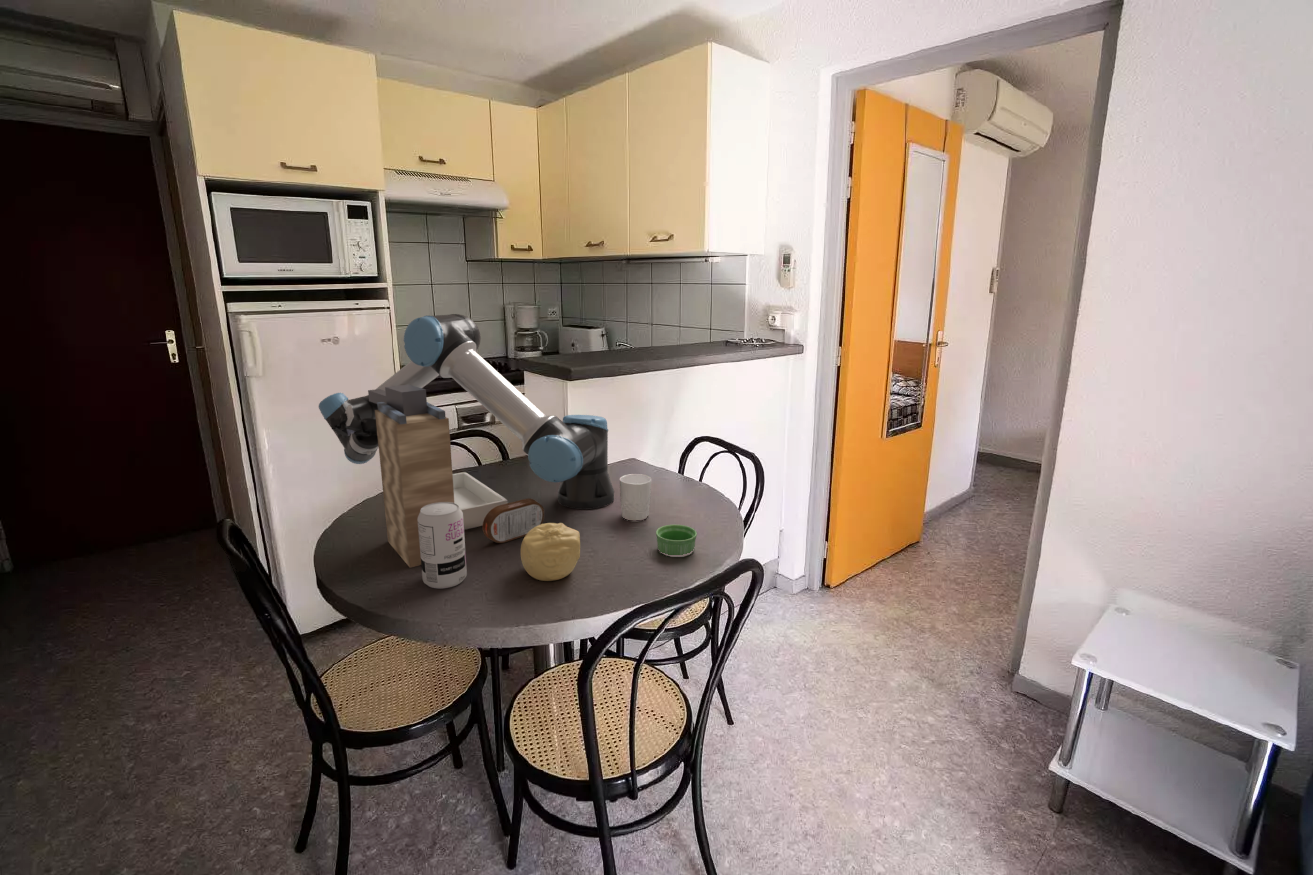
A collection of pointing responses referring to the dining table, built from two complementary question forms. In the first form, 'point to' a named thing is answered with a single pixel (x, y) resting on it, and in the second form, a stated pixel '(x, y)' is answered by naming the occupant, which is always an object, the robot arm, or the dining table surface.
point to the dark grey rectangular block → (402, 399)
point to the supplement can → (442, 545)
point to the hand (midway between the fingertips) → (382, 407)
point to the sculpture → (550, 551)
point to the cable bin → (474, 499)
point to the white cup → (635, 496)
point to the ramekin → (676, 539)
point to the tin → (512, 520)
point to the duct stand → (412, 472)
